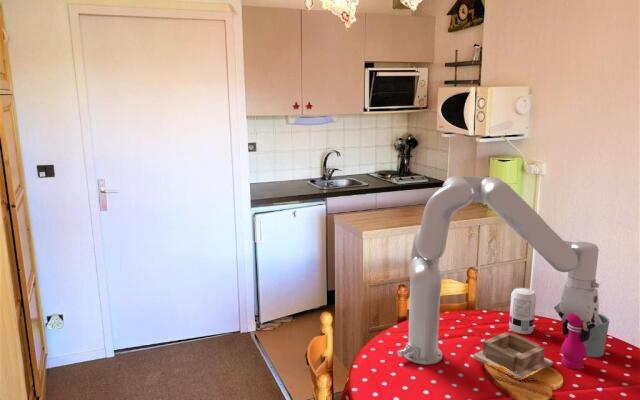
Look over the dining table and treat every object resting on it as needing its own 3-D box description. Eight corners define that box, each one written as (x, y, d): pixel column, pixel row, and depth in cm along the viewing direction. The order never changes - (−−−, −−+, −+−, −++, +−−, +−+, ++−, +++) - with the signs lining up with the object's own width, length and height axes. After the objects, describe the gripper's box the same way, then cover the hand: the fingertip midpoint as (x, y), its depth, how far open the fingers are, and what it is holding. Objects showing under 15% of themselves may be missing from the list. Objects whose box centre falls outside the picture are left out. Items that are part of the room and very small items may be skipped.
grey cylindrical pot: (597, 361, 159) (601, 326, 157) (566, 349, 167) (569, 316, 164) (610, 351, 165) (614, 317, 163) (579, 340, 173) (582, 308, 171)
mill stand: (519, 381, 148) (520, 364, 147) (473, 357, 162) (474, 341, 161) (552, 364, 157) (553, 348, 156) (506, 343, 171) (507, 328, 170)
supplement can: (504, 326, 184) (506, 288, 181) (522, 323, 186) (525, 285, 183) (518, 336, 176) (522, 296, 173) (538, 333, 179) (541, 293, 176)
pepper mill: (588, 371, 153) (595, 310, 149) (563, 369, 155) (569, 308, 151) (581, 359, 160) (587, 301, 156) (557, 357, 161) (562, 299, 158)
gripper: (616, 288, 147) (609, 345, 151) (561, 272, 161) (556, 324, 164) (603, 293, 143) (596, 351, 146) (547, 276, 157) (543, 330, 160)
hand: (575, 336), depth 155 cm, fingers closed on pepper mill, 5 cm apart
